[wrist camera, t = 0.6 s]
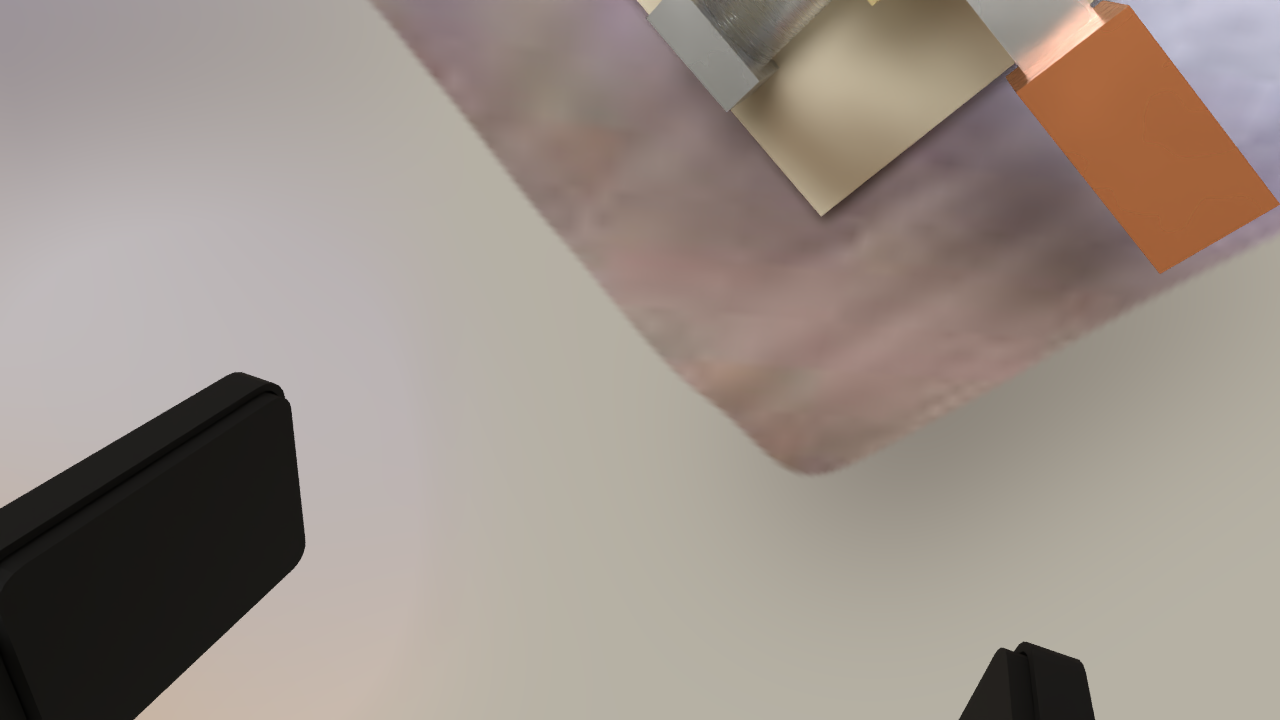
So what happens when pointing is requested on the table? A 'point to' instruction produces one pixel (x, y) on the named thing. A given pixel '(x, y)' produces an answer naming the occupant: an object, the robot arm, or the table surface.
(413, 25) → the table surface
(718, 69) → the valve body
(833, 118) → the board
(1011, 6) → the lever
